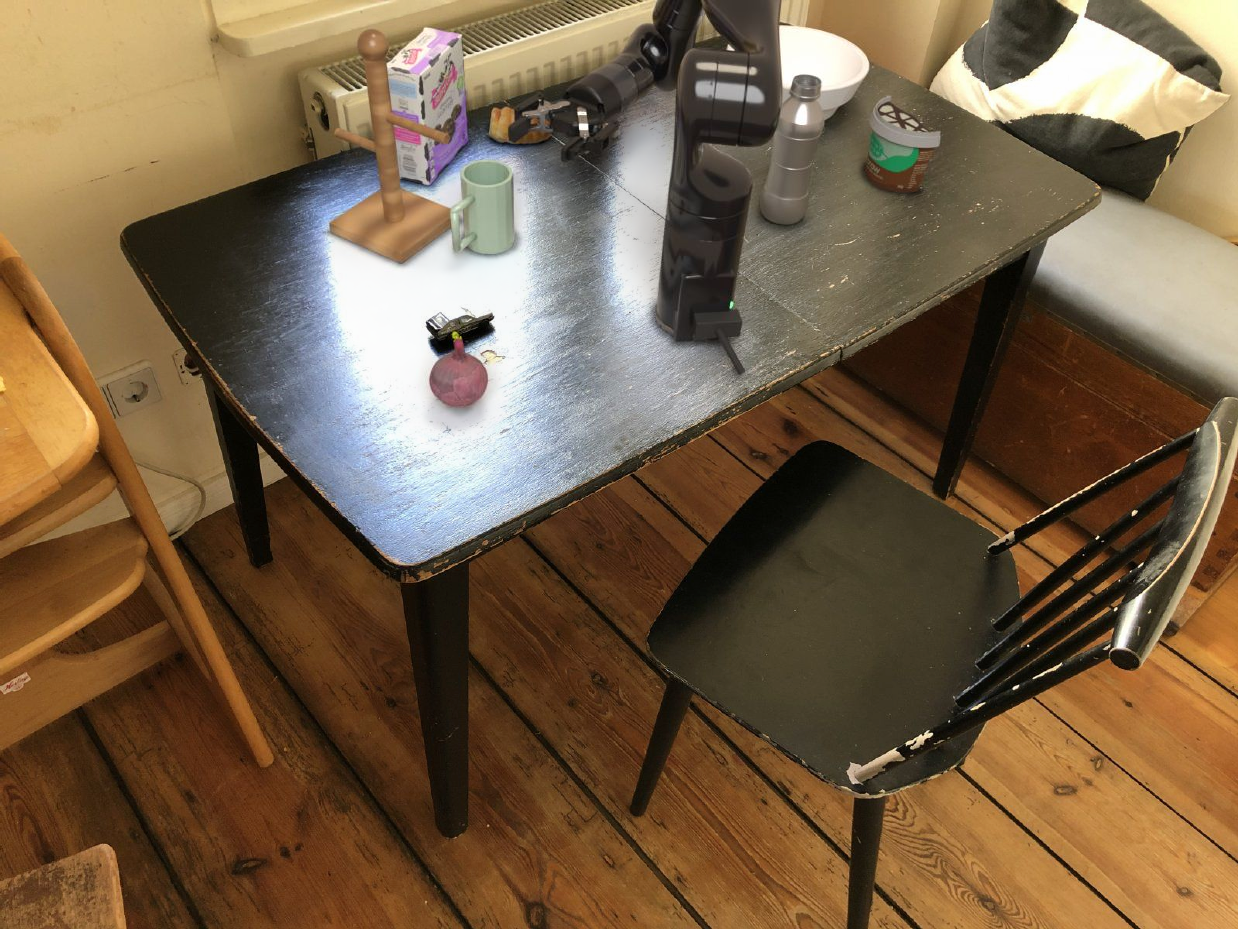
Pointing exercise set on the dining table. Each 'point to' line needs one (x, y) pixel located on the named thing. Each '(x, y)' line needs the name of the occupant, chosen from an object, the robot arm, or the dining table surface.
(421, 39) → the candy box
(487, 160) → the mug
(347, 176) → the dining table surface
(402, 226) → the mug tree
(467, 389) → the vegetable
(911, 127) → the food container
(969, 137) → the dining table surface
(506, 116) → the pastry
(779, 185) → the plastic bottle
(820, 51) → the bowl
